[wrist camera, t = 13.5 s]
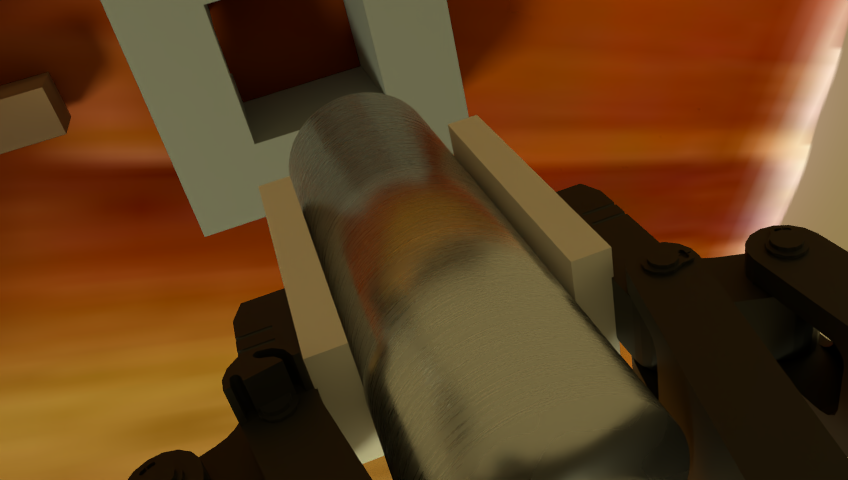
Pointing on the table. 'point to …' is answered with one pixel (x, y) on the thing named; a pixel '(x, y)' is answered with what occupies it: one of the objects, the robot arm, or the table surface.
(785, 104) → the table surface
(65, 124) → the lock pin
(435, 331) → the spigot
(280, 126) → the dock
